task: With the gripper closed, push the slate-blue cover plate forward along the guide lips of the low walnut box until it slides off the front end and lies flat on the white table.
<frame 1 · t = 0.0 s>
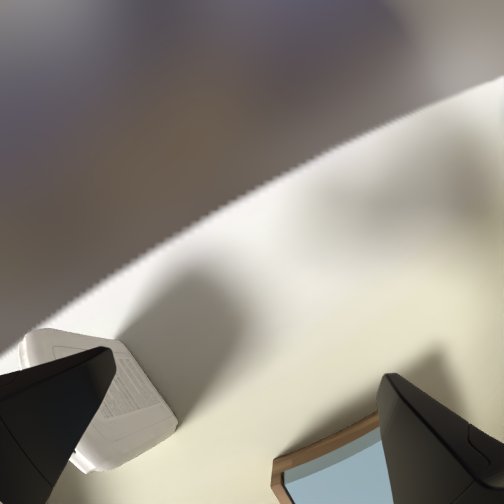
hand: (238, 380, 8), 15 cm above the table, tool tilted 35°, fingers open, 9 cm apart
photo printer: (137, 390, 22), on the table
slide box: (362, 479, 17), on the table
cover plate: (372, 495, 14), point 3 cm above the table, touching slide box
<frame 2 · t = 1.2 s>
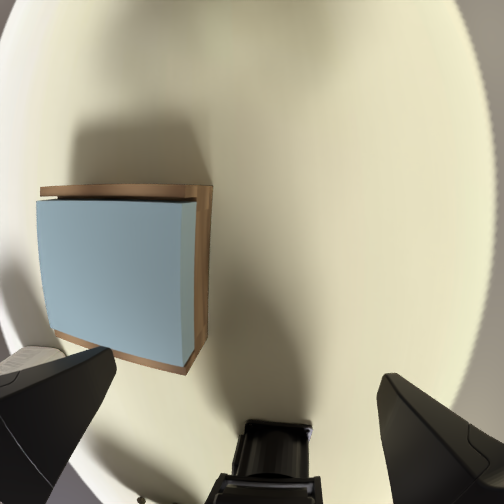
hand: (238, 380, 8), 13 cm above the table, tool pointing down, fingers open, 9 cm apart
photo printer: (48, 358, 27), on the table
slide box: (139, 259, 22), on the table
cover plate: (115, 270, 18), point 3 cm above the table, touching slide box
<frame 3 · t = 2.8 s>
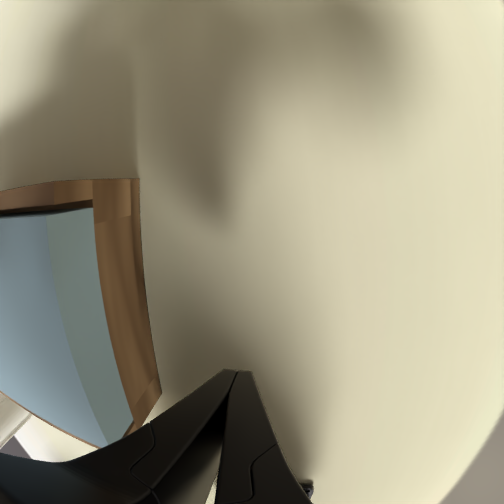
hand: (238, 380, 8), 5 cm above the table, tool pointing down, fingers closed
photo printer: (11, 393, 20), on the table
slide box: (64, 289, 14), on the table
cover plate: (24, 311, 11), point 3 cm above the table, touching slide box
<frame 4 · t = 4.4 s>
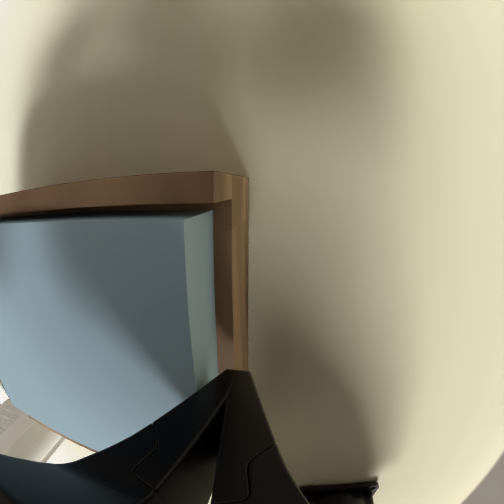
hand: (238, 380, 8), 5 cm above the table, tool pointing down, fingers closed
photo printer: (37, 413, 19), on the table
slide box: (130, 304, 13), on the table
cover plate: (81, 333, 10), point 4 cm above the table, touching gripper
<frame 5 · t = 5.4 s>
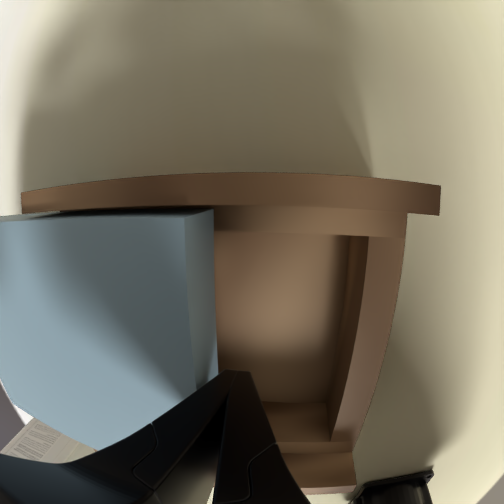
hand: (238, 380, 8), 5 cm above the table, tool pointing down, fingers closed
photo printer: (72, 431, 18), on the table
slide box: (230, 315, 13), on the table
cover plate: (81, 332, 10), point 4 cm above the table, touching gripper
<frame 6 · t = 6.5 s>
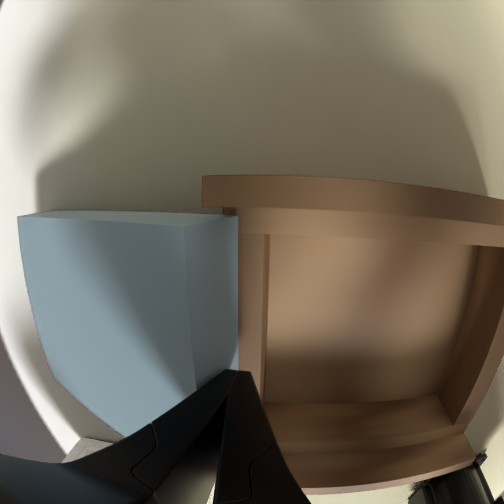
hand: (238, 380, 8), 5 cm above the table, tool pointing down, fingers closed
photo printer: (128, 454, 18), on the table
slide box: (372, 321, 12), on the table
cover plate: (121, 322, 12), point 2 cm above the table, tilted 18°, touching gripper
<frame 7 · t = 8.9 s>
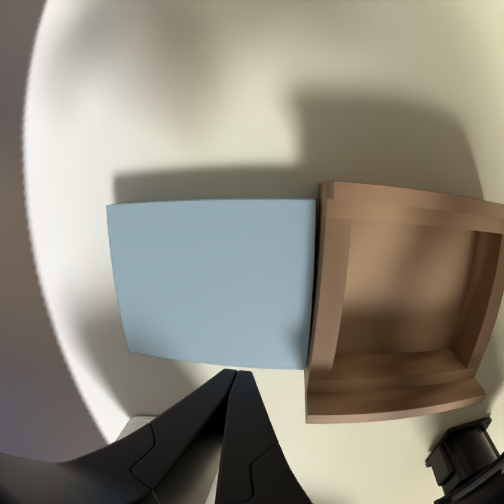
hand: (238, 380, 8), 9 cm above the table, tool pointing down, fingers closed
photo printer: (180, 428, 22), on the table
slide box: (404, 287, 16), on the table
cover plate: (213, 277, 18), on the table
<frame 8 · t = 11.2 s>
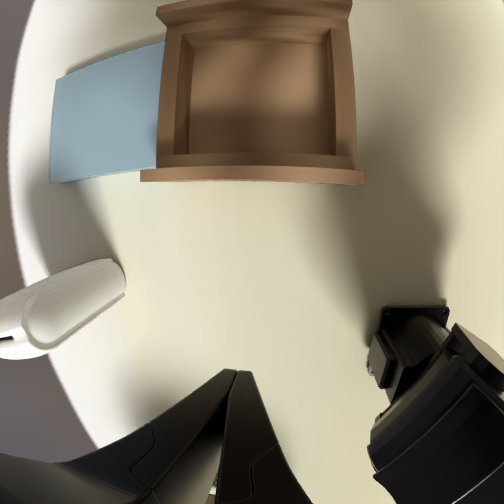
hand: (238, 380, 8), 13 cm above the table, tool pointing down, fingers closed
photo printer: (87, 284, 24), on the table
slide box: (259, 99, 18), on the table
cover plate: (115, 117, 20), on the table
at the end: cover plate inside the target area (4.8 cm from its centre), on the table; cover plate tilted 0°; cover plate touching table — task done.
